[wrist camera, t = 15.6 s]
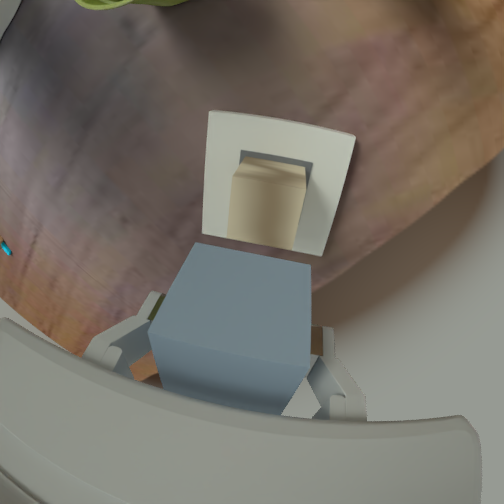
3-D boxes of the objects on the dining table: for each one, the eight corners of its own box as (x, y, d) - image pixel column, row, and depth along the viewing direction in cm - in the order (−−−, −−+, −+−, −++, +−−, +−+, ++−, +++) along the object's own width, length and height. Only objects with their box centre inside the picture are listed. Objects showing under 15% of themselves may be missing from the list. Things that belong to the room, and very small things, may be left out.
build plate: (205, 227, 29) (201, 233, 28) (213, 109, 21) (208, 111, 20) (321, 249, 28) (321, 257, 27) (353, 134, 21) (356, 137, 20)
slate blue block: (195, 317, 15) (166, 396, 11) (195, 242, 12) (147, 331, 8) (286, 336, 15) (276, 420, 11) (310, 264, 12) (309, 367, 8)
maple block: (239, 208, 25) (226, 238, 21) (245, 156, 22) (232, 176, 18) (293, 218, 25) (291, 250, 21) (305, 167, 22) (306, 189, 18)
